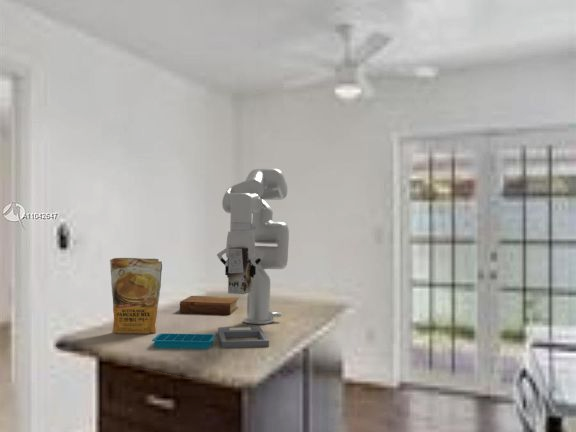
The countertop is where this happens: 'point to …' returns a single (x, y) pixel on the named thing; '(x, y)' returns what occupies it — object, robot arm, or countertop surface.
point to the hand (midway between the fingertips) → (240, 276)
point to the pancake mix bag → (135, 294)
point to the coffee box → (239, 271)
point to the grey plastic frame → (242, 332)
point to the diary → (209, 305)
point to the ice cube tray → (184, 341)
